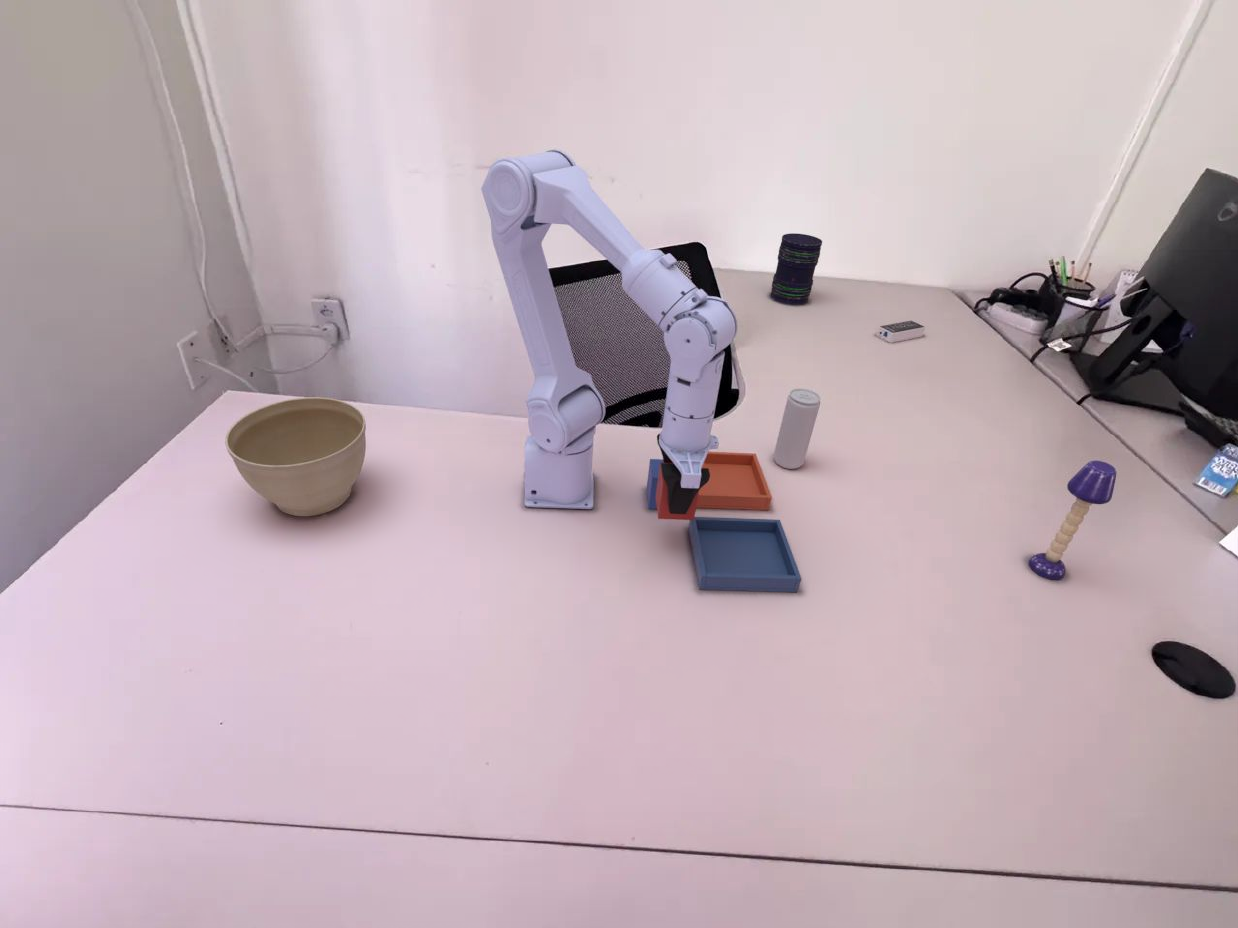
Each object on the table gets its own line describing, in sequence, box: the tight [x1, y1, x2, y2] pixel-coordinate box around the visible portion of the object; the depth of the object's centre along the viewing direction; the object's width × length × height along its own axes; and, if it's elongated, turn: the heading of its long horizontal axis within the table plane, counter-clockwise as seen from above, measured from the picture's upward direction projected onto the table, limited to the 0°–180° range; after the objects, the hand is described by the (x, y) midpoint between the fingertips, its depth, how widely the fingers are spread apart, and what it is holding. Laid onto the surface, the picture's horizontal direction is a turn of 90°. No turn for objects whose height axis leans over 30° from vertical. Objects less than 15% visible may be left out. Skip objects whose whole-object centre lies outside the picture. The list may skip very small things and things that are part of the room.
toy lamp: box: [1028, 459, 1117, 581], centre depth 82 cm, size 5×5×17 cm
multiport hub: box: [875, 320, 926, 344], centre depth 150 cm, size 4×11×2 cm, turn 118°
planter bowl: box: [224, 396, 367, 517], centre depth 85 cm, size 16×16×11 cm
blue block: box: [645, 458, 664, 510], centre depth 92 cm, size 4×4×6 cm
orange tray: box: [696, 451, 773, 511], centre depth 97 cm, size 12×11×2 cm
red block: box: [656, 463, 699, 521], centre depth 82 cm, size 4×4×6 cm
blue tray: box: [688, 516, 802, 593], centre depth 83 cm, size 12×11×2 cm
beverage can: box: [772, 388, 822, 470], centre depth 100 cm, size 5×5×12 cm
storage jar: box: [769, 232, 823, 306], centre depth 162 cm, size 10×10×15 cm
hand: (675, 499), depth 82 cm, fingers closed on red block, 4 cm apart
